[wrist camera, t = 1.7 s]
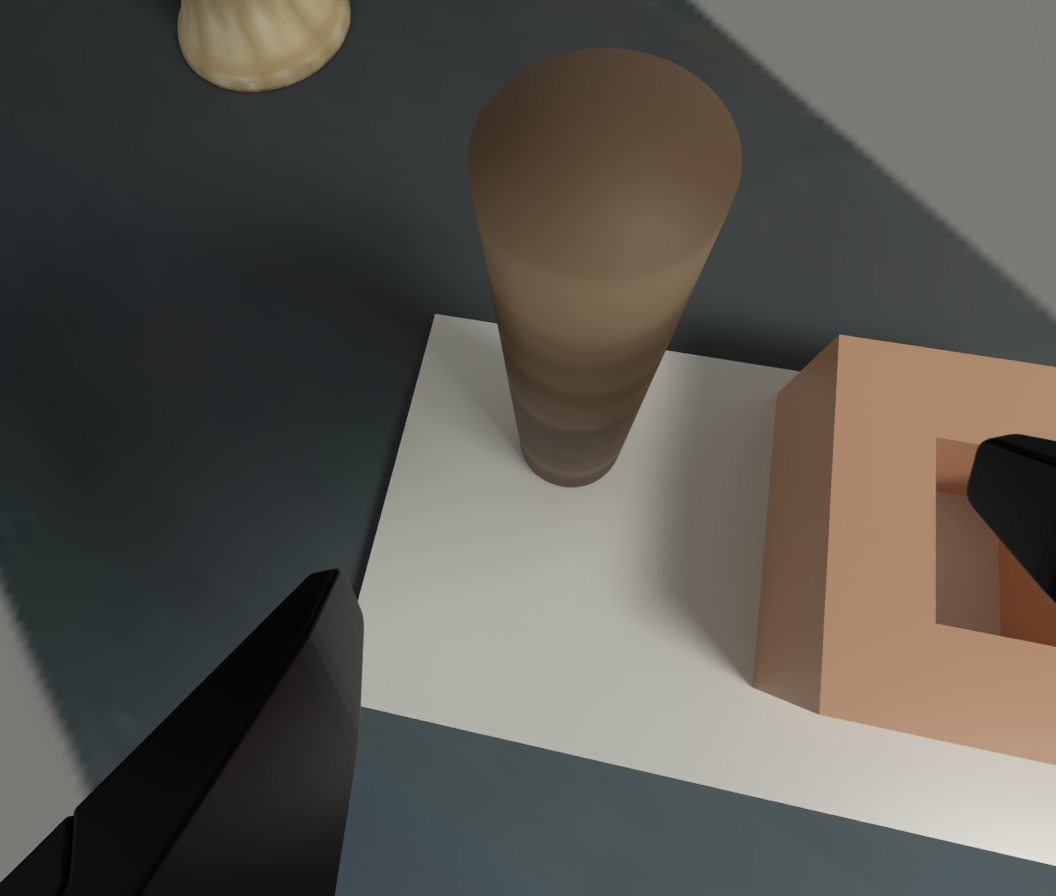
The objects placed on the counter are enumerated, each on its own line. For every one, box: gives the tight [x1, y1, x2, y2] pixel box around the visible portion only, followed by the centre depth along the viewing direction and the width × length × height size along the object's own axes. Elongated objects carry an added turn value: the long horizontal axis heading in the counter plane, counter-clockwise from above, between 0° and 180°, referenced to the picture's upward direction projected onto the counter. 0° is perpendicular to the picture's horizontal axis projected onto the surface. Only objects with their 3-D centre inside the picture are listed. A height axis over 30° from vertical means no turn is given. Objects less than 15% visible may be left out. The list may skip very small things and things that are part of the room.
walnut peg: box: [468, 48, 742, 488], centre depth 14 cm, size 4×4×13 cm
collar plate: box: [358, 314, 1056, 866], centre depth 17 cm, size 14×24×5 cm, turn 79°
